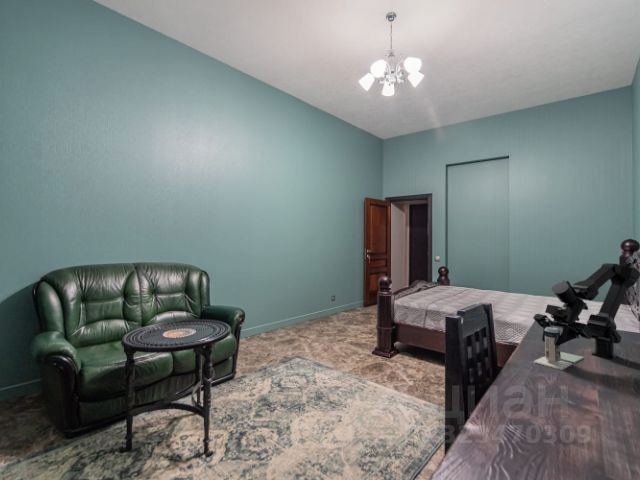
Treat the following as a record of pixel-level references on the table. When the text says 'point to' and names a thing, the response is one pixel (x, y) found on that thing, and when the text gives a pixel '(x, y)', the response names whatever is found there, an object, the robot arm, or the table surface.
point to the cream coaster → (553, 363)
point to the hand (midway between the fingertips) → (549, 342)
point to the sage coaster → (570, 357)
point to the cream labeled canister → (552, 344)
